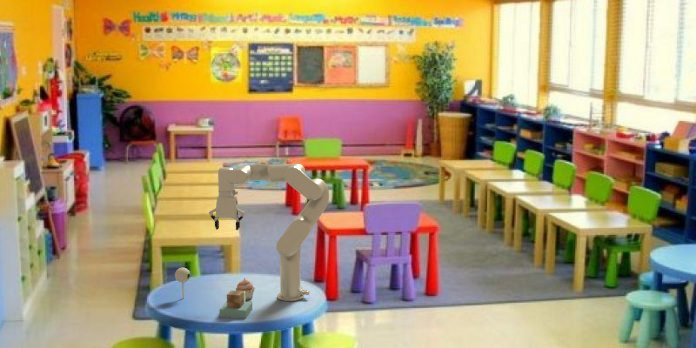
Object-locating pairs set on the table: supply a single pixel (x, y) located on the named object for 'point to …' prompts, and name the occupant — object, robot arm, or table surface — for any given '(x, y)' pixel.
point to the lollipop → (182, 277)
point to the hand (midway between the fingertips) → (227, 229)
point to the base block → (236, 311)
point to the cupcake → (246, 288)
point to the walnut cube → (235, 299)
